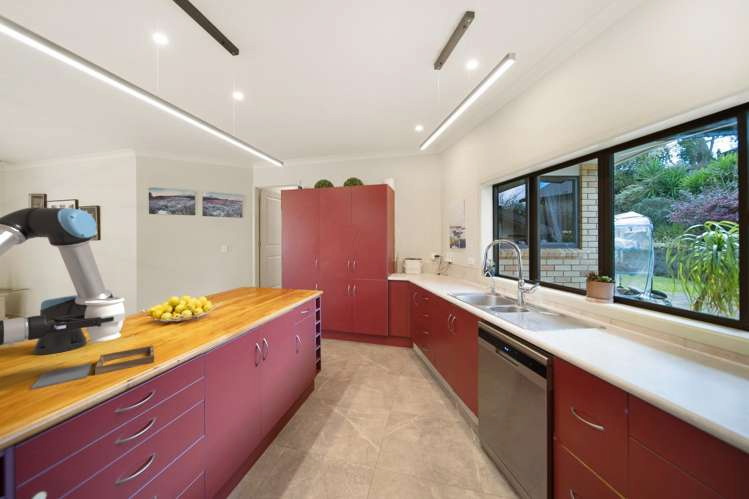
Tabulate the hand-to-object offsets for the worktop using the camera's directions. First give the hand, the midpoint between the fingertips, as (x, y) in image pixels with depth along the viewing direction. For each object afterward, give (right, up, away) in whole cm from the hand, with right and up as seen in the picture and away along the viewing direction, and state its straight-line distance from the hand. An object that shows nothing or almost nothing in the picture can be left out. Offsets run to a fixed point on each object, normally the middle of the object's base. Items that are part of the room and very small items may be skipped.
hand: (120, 314), depth 102 cm
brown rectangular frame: (+2, -19, +1) cm, 19 cm away
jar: (-2, -9, -4) cm, 10 cm away
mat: (-9, -19, -10) cm, 24 cm away
